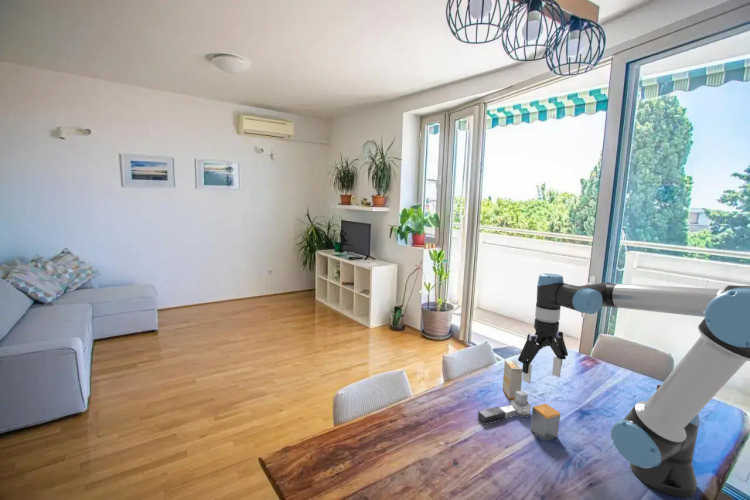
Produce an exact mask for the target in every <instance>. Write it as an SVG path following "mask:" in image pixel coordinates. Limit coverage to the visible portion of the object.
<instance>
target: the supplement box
mask: <svg viewBox="0 0 750 500" xmlns="http://www.w3.org/2000/svg"><path fill="white" fill-rule="evenodd" d="M522 369H523V366H521V364H519V363H518V362H517V360H514V359H513V360H512V359H505V360H504V368H503V379H502V388H503V389H502V390H504V391H503V392H504V393H506V394H505V395H506V397H507V396H508V397H507V398H508V400H514V399H515V393H516V392H517V391H521V389H522V381H523V371H522Z"/></svg>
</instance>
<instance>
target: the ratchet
mask: <svg viewBox="0 0 750 500" xmlns="http://www.w3.org/2000/svg"><path fill="white" fill-rule="evenodd" d="M477 414H478V415H477V419H478V418H479V419H480V420H481V421H482V422H483V423H482V422H481V421H480V420H479V419H478V420H479V421H480V422H481V423H482V424H484V423H485V424H484V425H487V424H486V423H489V424H491V423H490V422H493V423H495V422H494V421H497V422H499V421H498V420H500V421H503V420H502V419H504V420H505V418H506V419H509V418H508V417H510V418H512V417H511V416H513V417H516V416H515V415H518V416H517V417H519V416H522V417H521V418H527V417H526V416H528V417H529V416H530V415H531V404H530V403H529V401H528V393H526V392H525V391H523V390H521V391H517V392H516V393H515V399H511V400H510V403H509V405H506V406H501V407H500V406H494V407H492V408H486V409H482V410H478V412H477Z"/></svg>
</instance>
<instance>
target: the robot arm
mask: <svg viewBox="0 0 750 500" xmlns="http://www.w3.org/2000/svg"><path fill="white" fill-rule="evenodd" d="M536 286H537V288H536V303H535V315H534V316H535V318H534V322H533V323H534V325H533V327H534V330H535V334H531V333H527V336H526V340H525V343H524V346H523V348H522V350H521V352H520V355H519V356H518V358H517V360H518V362H520V363H522V371H523V373H522V381H524V382H525V383H527V384H531V379H532V371H533V370H532V369H533V364H531V363H532V362H533V360H534V358H536V356H537V354H538V353H539V352H540V350H542V349H543V348H545V347H546V348H547V347H550V348H551V350H552V352H553V353H554V354H555V356H553V362H552V371H551V373H552V376H553V375H554V376H555V377H556V378H561V372H562V366H563V360H564V361H565V360H566V359H567V358H566V357H567V356H568V350H567V346H566V344H565V341H564V340H565V339H564V332H563V331H561V330H559V327H560V322H559V321H560V320H561V319H560V318H561V309H562V307H563V308H566V309H570V310H573V311H576V312H579V313H581V314H583V313H584V314H588V315H594V314H597V312H598V311H600V310H601V308H603V307H604V308H605V307H606V308H618V309H626V310H627V309H628V310H636V311H646V312H653V313H656V312H657V313H665V314H671V315H682V316H683V315H684V316H690V317H700V318H701V317H702V318H703V319H702V320H701V322H700V323H699V325H698V326H697V329H698V332H699V334H700V337H699V338H698V339H697V340H696V342H695V343H694V344H693V345H692V347H690V349H689V350H688V351H687V353H686V354H685V355H684V357H682V358H681V360H680V361H679V362H678V363H677V365H676V366H675V367H674V369H673V370H672V371H671V372H670V374H669V375H668V376H667V377H666V378H665V379H664V381H663V382H662V383H661V384H660V385H661V386H660V387H659V388H658V389H657V388H656V390H657V391H655V392H654V394H653V395H652V396H651V395H650V396H649V397H648V398H647V399H646V400H647V401H641V400H640V401H637V402H636V404H634V406H633V408H632V409H631V410H630V411H629V413H627V415H626V416H625V417H624V418H623V419H619V420H617V421H615V423H613V424H612V426H611V430H610V438H611V439H612V441H613V445H614V447H615V449H616V450H617V452H618V453H619V454H620V455H621V456H622V457H623V458H624V459H625V460H626V461H627V462H629V463H630V469H631V471H632V473H633V474H634V475H635V476H636V478H638V479H639V480H640V481H641V482H643V483H644V484H646V485H647V486H648V487H651V488H652V489H654V490H657V491H659V492H661V493H662V494H663V493H664V494H666V495H669V496H671V497H677V498H690V497H693V496H695V494H696V492H697V486H698V484H697V483H698V482H697V478H696V473H695V469H694V465H693V459H694V453H695V447H696V441H697V437H698V432H699V427H700V415H699V413H700V412H701V411H702V409H704V407H706V405H707V404H708V403H709V402H710V401H711V400H712V399H713V398H714V397H715V396H716V394H717V393H718V392H719V391H720V390H721V389H722V388H723V387H724V386H725V385H726V384H727V383H728V382H729V380H730V379H732V378H733V376H734V375H735V374H736V373H737V372H738V371H739V370H740V368H741V367H743V365H744V364H745V363H746V362H750V285H730V284H729V285H726V286H725V287H723V288H707V287H705V288H704V287H687V286H686V287H684V286H667V285H666V286H665V285H649V284H648V285H644V284H626V283H625V284H624V283H615V282H608V281H604V282H603V281H602V282H600V283H599V282H598V283H594V284H585V285H575V284H569V283H565V282H564V276H563V275H560V274H556V273H541V274H539V276H538V280H537V285H536Z"/></svg>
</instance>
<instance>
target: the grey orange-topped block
mask: <svg viewBox="0 0 750 500" xmlns="http://www.w3.org/2000/svg"><path fill="white" fill-rule="evenodd" d="M560 418H561V412H560V411H558V410H557V409H555V408H554V407H552V406H550V405H549V404H547V403H543V404H539V405H535V406H532V410H531V420H530V431H531V430H532V431H533V432H534V433H535V435H536V434H537V435H538V436H539V437H538V436H537V435H536V436H537V437H538V438H540V437H541V438H542V439H543V440H542V439H541V438H540V439H541V440H542V441H544V442H546V441H545V440H547V441H549V439H550V440H553V439H556V438H558V437H559V429H560V428H559V427H560V420H561V419H560ZM532 431H531V432H532ZM533 432H532V433H533ZM534 433H533V434H534ZM555 437H556V438H555ZM552 438H553V439H552Z"/></svg>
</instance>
